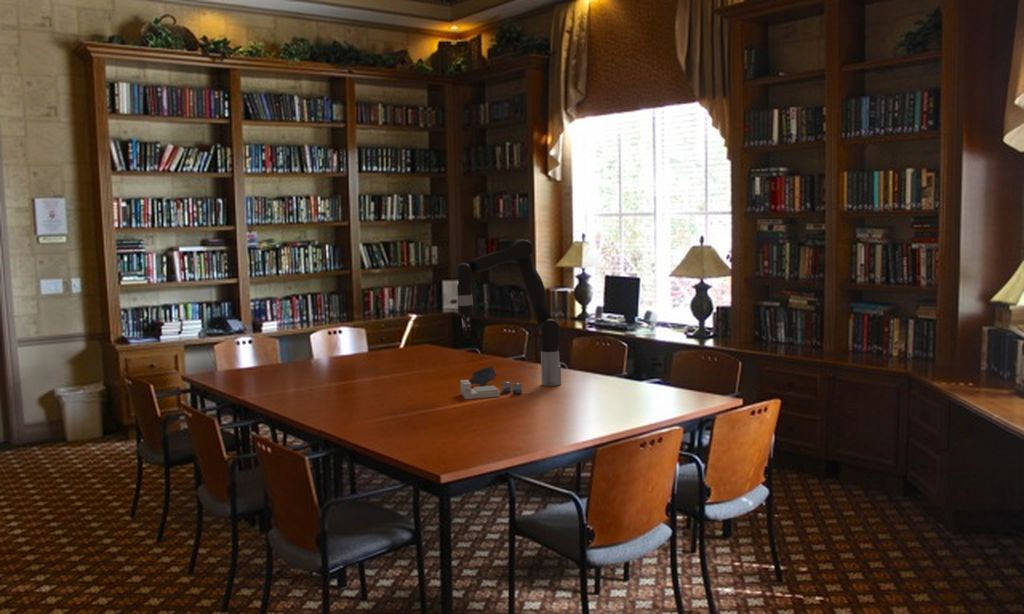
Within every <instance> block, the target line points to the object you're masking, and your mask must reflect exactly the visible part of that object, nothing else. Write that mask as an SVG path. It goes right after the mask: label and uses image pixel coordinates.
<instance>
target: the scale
mask: <svg viewBox="0 0 1024 614" xmlns="http://www.w3.org/2000/svg"><path fill="white" fill-rule="evenodd" d="M460 395H461V396H462V398H463V399H464V400H474V399H486V398H487V399H488V398H497V397H498V398H500V397H501V391H500V390H499V388H498V387H496V386H495V385H485V386H474V387H473V388H472V384H471V383H470V382H469V379H461V380H460Z"/></svg>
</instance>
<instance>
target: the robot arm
mask: <svg viewBox="0 0 1024 614" xmlns="http://www.w3.org/2000/svg"><path fill="white" fill-rule="evenodd" d="M533 252H534V246H533V244H532V242H530V241H528V240H527V239H516V240H515V241H514V242H513V243H512V244H511V246H510V247H508V248H505V249H502V250H499V251H494V252H491V253H486V254H484V255H482V256H479V257H476V258H473V259H471V260H467V261H464V262H461V263H459V264H457V265H456V266H455V269H454V272H455V275H456V276H457V281H458V283H457V286H456V287H457V288H456V290H457V291H456V292H457V293H456V294H457V313H458V315H460V316H461V317H460V318H461V328H462V331H463V334H462V335H463V337H465V338H466V339H471V338H472V337H471V336H472V335H471V334H472V333H471V330H472V322H471V320H472V317H470V315H472V314H474V301H473V291H472V279H473V275H474V274H475V273H481V272H482V273H483V272H484V271H487V270H490V269H492V268H494V267H497V266H500V265H503V264H505V263H507V262H511V261H514V260H515V261H516V264H517V265H518V266H517V267H518V268H519V271H520V272H519V273H520V275H521V279H522V282H523V285H524V288H525V291H526V294H527V297H528V299H529V302H530V306H531V307H532V309H533V313H534V315H535V321H536V322H537V323H536V324H537V329H538V331H539V333H540V334H541V345H540V368H541V369H540V370H541V371H540V372H541V374H540V375H541V385H542V386H544V387H554V386H561V385H562V370H561V364H560V344H561V329H560V325H559V322H557V321H556V320H555V319H553V317H552V315H551V313H550V310H549V307H548V297H547V292H546V288H545V285H544V282H543V279H542V277H541V275H540V274H539V272H538V270H537V269H536V267H535V265H534V263H533V259H532V254H533Z"/></svg>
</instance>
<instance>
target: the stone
mask: <svg viewBox="0 0 1024 614" xmlns="http://www.w3.org/2000/svg"><path fill="white" fill-rule="evenodd" d="M471 375H472V378H471V379H470V378H469V379H468V381H469V382H470V383H471V385H472V384H474V385H480V387H482V386H488V385H487V384H488V383H489V382H491V381H494V380H495V379H496V378H497V376H498V375H497V374H496V372H495V369H494V367H493V365H490V366H488V367H485V368H481V369H480V370H477V371H474V373H472V374H471Z"/></svg>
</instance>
